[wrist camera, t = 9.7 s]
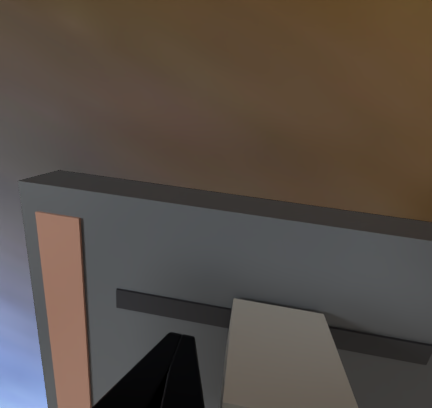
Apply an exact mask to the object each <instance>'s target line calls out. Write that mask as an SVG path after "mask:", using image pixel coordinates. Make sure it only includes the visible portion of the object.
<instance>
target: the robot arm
mask: <svg viewBox="0 0 432 408" xmlns="http://www.w3.org/2000/svg"><path fill="white" fill-rule="evenodd" d="M92 408H205V405H204V398H203V391H202V383H201V376H200V369H199V362H198V355H197V348H196V341H195V337H194V336H190V335H185V334H183V335H182V334H180V333H174V332H169V333H168V334H167V335H166V336H165V337H164V338H163V339H162V340H161V341H160V342H159V343H158V344H157V345H155V346H154V347H153V348H152V349H151V350H150V351H149V352H148V353H147V354H146V355H145V356H144V357H143V358H142V359H141V360H140V361H139V362H138V363H137V364H136V365H135V366H134V367H133V368H132V369H131V370H130V371H129V372H128V373H127V374H126V375H125V376H124V377H122V378H121V379H120V380H119V381H118V382H117V383H116V384H115V385H114V386H113V387H112V388H111V389H110V390H109V391H108V392H107V393H106V394H105V395H104V396H103V397H102V398H101V399H100V400H99V401H98V402H97V403H96V404H95V405H94V406H93V407H92Z"/></svg>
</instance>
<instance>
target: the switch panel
mask: <svg viewBox="0 0 432 408" xmlns="http://www.w3.org/2000/svg"><path fill="white" fill-rule="evenodd" d="M18 186H19V194H20V201H21V209H22V216H23V224H24V231H25V239H26V246H27V254H28V261H29V269H30V276H31V284H32V291H33V299H34V306H35V314H36V321H37V329H38V336H39V344H40V351H41V359H42V366H43V374H44V381H45V389H46V396H47V404H48V408H92V407H93V406H94V405H95V404H96V403H97V402H98V401H99V400H100V399H101V398H102V397H103V396H104V395H105V394H106V393H107V392H108V391H109V390H110V389H111V388H112V387H113V386H114V385H115V384H116V383H117V382H118V381H119V380H120V379H121V378H122V377H124V376H125V375H126V374H127V373H128V372H129V371H130V370H131V369H132V368H133V367H134V366H135V365H136V364H137V363H138V362H139V361H140V360H141V359H142V358H143V357H144V356H145V355H146V354H147V353H148V352H149V351H150V350H151V349H152V348H153V347H154V346H155V345H157V344H158V343H159V342H160V341H161V340H162V339H163V338H164V337H165V336H166V335H167V334H168V333H169V332H174V333H180V334H182V335H183V334H185V335H190V336H194V337H195V341H196V348H197V355H198V362H199V369H200V376H201V383H202V391H203V398H204V405H205V408H219V406H220V397H221V388H222V380H223V371H224V362H225V353H226V345H227V338H228V331H229V325H230V318H231V312H232V305H233V299H234V298H236V299H241V300H247V301H253V302H258V303H264V304H270V305H276V306H281V307H287V308H293V309H298V310H304V311H310V312H315V313H321V314H324V316H325V319H326V321H327V324H328V327H329V330H330V332H331V335H332V338H333V340H334V343H335V346H336V349H337V351H338V354H339V357H340V359H341V362H342V365H343V367H344V370H345V373H346V376H347V378H348V381H349V384H350V386H351V389H352V392H353V395H354V397H355V400H356V403H357V405H358V408H432V222H426V221H419V220H412V219H404V218H397V217H390V216H383V215H376V214H369V213H361V212H354V211H347V210H340V209H333V208H326V207H318V206H311V205H304V204H297V203H290V202H283V201H276V200H268V199H261V198H254V197H247V196H240V195H233V194H225V193H218V192H211V191H204V190H197V189H190V188H182V187H175V186H168V185H161V184H154V183H147V182H139V181H132V180H125V179H118V178H111V177H104V176H97V175H89V174H82V173H75V172H68V171H61V170H58V171H54V172H50V173H46V174H42V175H38V176H34V177H31V178H27V179H23V180H19V181H18Z"/></svg>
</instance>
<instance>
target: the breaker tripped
mask: <svg viewBox="0 0 432 408" xmlns="http://www.w3.org/2000/svg"><path fill="white" fill-rule="evenodd" d="M219 408H358V405H357V403H356V400H355V397H354V395H353V392H352V389H351V386H350V384H349V381H348V378H347V376H346V373H345V370H344V367H343V365H342V362H341V359H340V357H339V354H338V351H337V349H336V346H335V343H334V340H333V338H332V335H331V332H330V330H329V327H328V324H327V321H326V319H325V316H324V314H321V313H315V312H310V311H304V310H298V309H293V308H287V307H281V306H276V305H270V304H264V303H258V302H253V301H247V300H241V299H236V298H234V299H233V305H232V312H231V318H230V325H229V331H228V338H227V345H226V353H225V362H224V371H223V380H222V388H221V397H220V406H219Z"/></svg>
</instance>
